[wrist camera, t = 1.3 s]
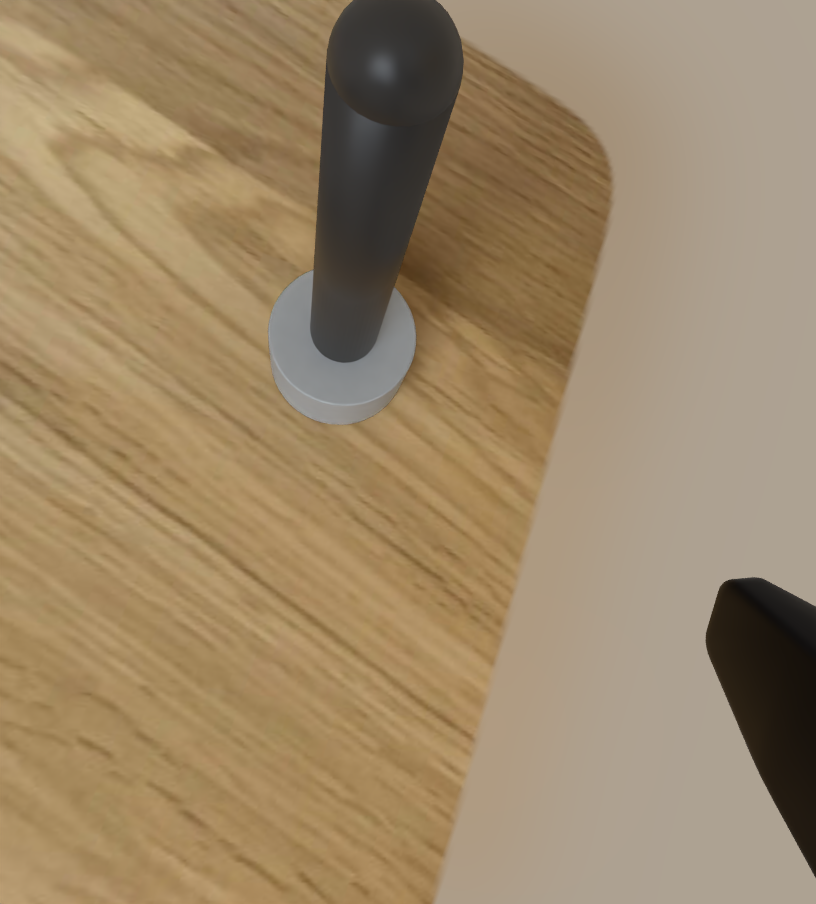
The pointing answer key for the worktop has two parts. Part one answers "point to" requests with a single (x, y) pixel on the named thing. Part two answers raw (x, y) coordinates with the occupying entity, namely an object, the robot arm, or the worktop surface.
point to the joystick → (366, 208)
